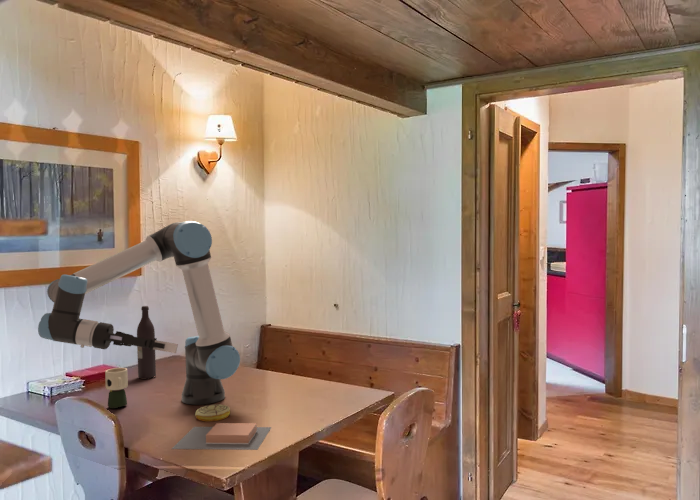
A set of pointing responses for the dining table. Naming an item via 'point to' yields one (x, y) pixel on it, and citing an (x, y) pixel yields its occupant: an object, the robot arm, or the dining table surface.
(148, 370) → the wine bottle
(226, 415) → the decorated donut
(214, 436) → the terracotta tile
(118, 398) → the character mug
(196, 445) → the slate mat
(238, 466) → the dining table surface
